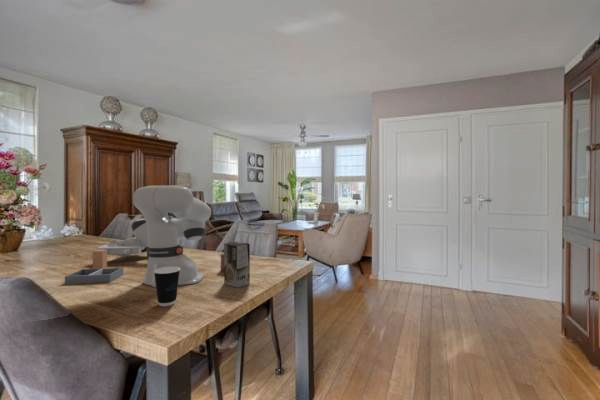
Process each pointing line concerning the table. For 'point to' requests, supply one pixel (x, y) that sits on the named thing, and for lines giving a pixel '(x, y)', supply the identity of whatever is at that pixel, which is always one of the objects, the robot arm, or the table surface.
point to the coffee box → (237, 264)
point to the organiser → (94, 275)
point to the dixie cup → (166, 284)
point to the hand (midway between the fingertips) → (112, 252)
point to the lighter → (222, 261)
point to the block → (99, 259)
